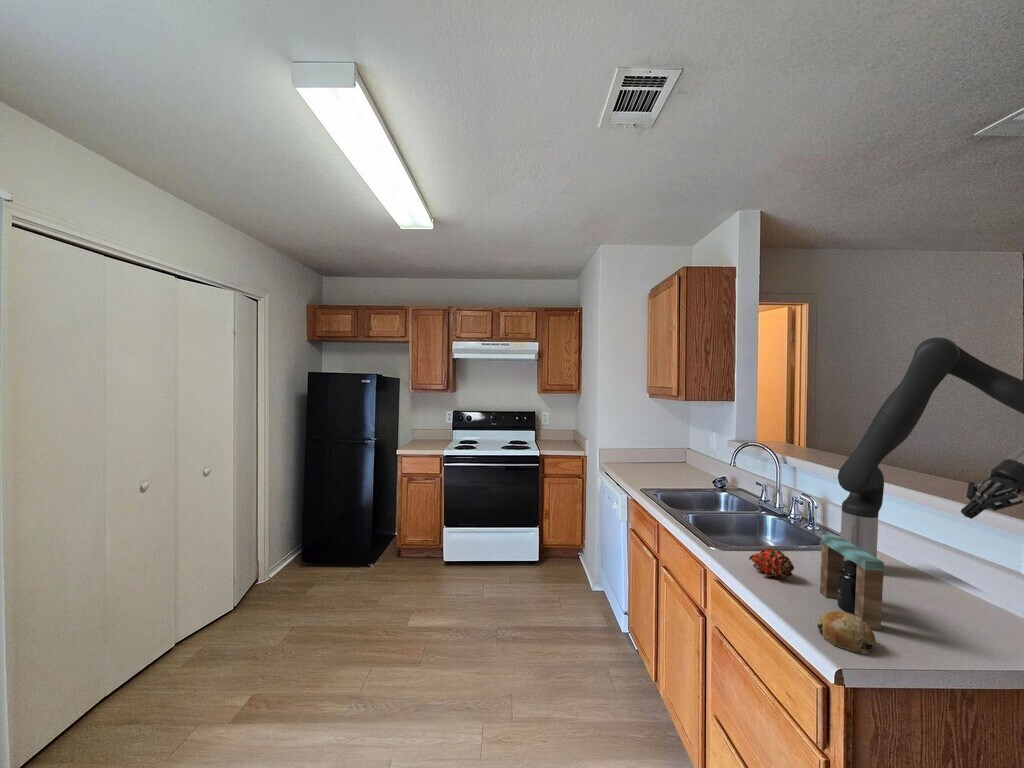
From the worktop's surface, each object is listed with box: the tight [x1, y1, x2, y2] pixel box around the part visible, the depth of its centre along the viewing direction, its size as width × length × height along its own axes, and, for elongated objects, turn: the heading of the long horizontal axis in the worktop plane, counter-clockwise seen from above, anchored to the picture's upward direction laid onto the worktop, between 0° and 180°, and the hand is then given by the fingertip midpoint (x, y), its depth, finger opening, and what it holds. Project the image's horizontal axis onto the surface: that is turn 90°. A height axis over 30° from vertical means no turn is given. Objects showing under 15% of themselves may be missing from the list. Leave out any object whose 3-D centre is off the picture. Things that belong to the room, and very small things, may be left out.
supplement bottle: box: [836, 560, 857, 616], centre depth 115 cm, size 7×7×12 cm
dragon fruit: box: [748, 547, 795, 579], centre depth 134 cm, size 8×8×12 cm
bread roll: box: [815, 610, 877, 655], centre depth 101 cm, size 10×10×8 cm
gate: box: [819, 534, 885, 631], centre depth 115 cm, size 18×4×16 cm, turn 173°
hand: (965, 515), depth 113 cm, fingers closed
